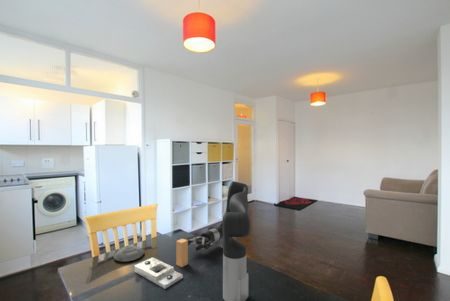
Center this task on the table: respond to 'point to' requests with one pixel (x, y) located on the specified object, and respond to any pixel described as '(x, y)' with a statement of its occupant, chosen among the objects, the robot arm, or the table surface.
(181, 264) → the pin
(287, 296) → the table surface
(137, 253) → the flying saucer
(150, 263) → the white peg board
